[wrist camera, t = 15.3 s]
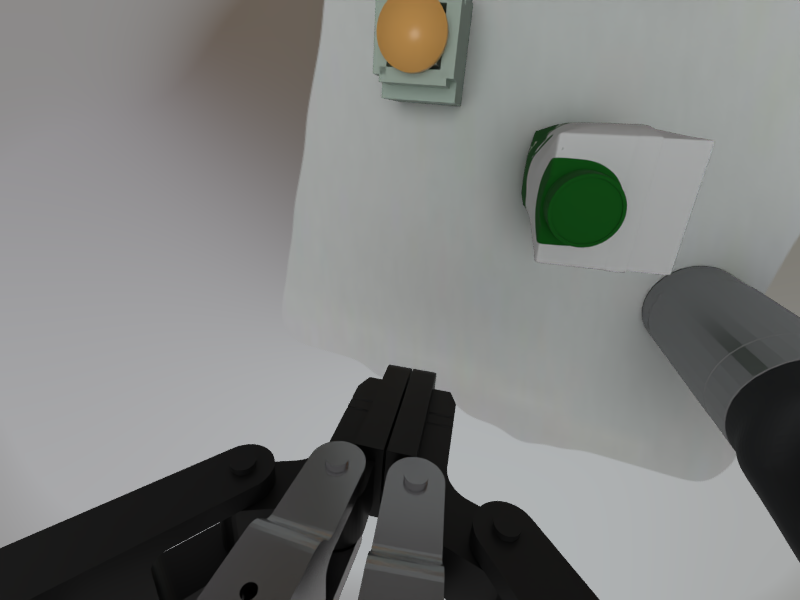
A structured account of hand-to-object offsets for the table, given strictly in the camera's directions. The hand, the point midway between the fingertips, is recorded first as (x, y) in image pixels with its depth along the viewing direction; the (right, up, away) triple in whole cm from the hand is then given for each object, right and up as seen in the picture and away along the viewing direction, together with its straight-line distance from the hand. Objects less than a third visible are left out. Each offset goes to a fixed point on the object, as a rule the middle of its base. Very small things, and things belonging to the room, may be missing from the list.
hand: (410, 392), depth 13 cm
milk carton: (+16, +15, +27) cm, 35 cm away
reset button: (+1, +22, +18) cm, 29 cm away
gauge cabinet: (+3, +25, +25) cm, 36 cm away
